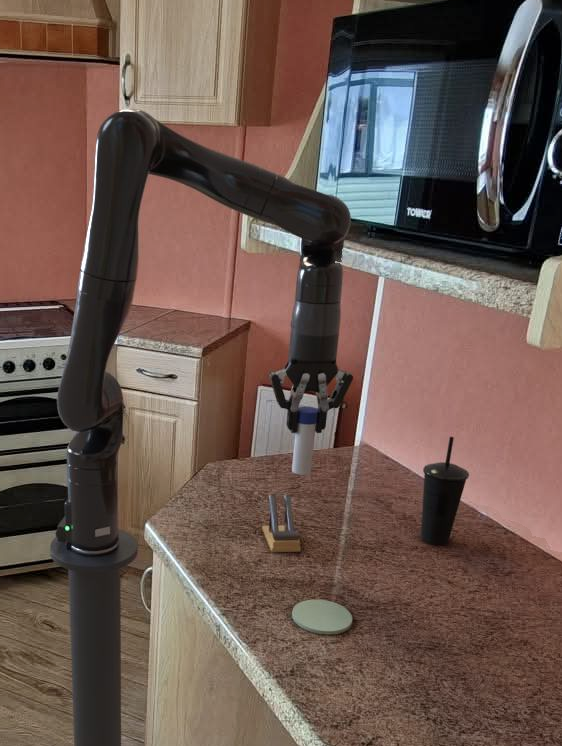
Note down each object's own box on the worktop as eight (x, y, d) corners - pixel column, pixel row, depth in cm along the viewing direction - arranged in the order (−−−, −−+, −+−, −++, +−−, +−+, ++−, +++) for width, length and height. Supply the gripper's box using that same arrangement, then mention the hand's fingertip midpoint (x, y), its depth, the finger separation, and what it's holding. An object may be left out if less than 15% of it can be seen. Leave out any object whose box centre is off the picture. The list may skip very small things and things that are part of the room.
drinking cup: (465, 543, 145) (485, 440, 137) (434, 552, 142) (452, 447, 134) (434, 527, 151) (450, 427, 143) (404, 535, 148) (419, 433, 140)
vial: (284, 426, 139) (297, 399, 130) (304, 426, 139) (319, 399, 130) (290, 479, 135) (303, 455, 126) (310, 479, 135) (326, 455, 126)
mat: (290, 630, 118) (291, 626, 118) (293, 599, 127) (293, 596, 126) (352, 638, 117) (353, 634, 116) (351, 606, 125) (351, 603, 124)
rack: (262, 529, 150) (264, 492, 147) (289, 529, 150) (292, 491, 147) (271, 552, 141) (274, 513, 138) (300, 551, 142) (304, 512, 139)
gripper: (275, 334, 121) (267, 439, 128) (366, 333, 122) (354, 439, 129) (266, 324, 128) (259, 424, 135) (352, 323, 129) (341, 424, 136)
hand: (305, 431), depth 132 cm, fingers closed on vial, 3 cm apart
